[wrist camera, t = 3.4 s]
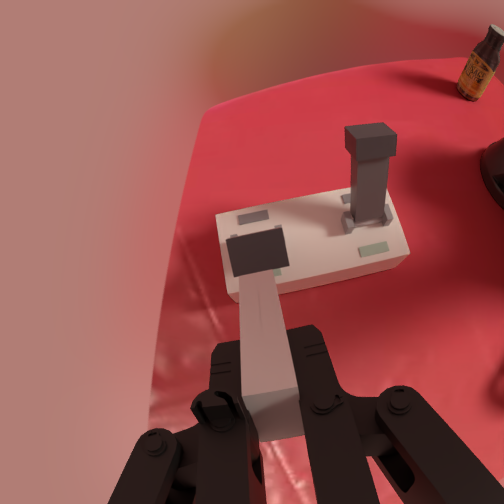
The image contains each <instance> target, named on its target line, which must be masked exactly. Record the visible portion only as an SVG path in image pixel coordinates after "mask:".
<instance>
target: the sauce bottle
mask: <svg viewBox="0 0 504 504" xmlns="http://www.w3.org/2000/svg"><path fill="white" fill-rule="evenodd" d="M503 43H504V31H503V30H502V29H500V28H499V27H497V26H495V25H492V24H491V25H490V27H489V31H488V33H487V36H486V37H485V39H484V40H483V41H482V42H480V43H478V44H477V46H476V47H475V48H474V50H473V51H472V53H471V55H470V57H469V59H468V61H467V63H466V66H465V68H464V70H463V72H462V74H461V76H460V78H459V80H458V83H457V89H458V91H459V92H460V93H461V94H462V95H463V96H464V97H466V98H467V99H468V100H472V101H477V100H478V99H479V98H480V97H481V95H482V94H483V92H484V90H485V88H486V87H487V85H488V83H489V81H490V80H491V78H492V76H493V75H494V73H495V71H496V68H497V66H498V65H499V63H500V56H499V52H500V50H501V47H502V45H503Z"/></svg>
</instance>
